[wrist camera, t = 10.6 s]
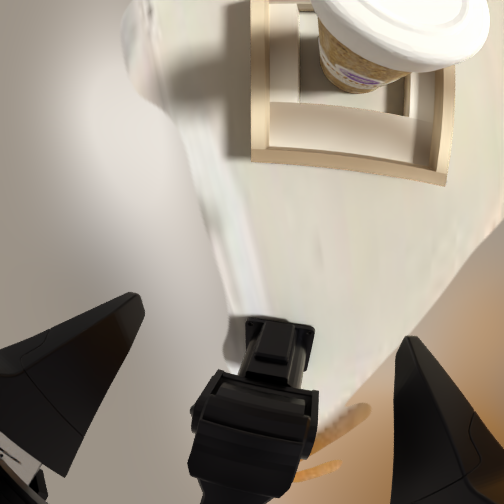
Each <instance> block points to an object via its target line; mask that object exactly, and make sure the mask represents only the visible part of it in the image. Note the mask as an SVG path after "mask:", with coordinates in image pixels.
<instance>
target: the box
mask: <svg viewBox="0 0 504 504" xmlns="http://www.w3.org/2000/svg"><path fill="white" fill-rule="evenodd" d="M299 11H314V9H313V7H312V4H311V1H310V0H250V12H251V162H262V163H279V164H293V165H305V166H315V167H325V168H334V169H343V170H351V171H359V172H366V173H373V174H379V175H386V176H392V177H398V178H403V179H409V180H414V181H419V182H425V183H429V184H434V185H439V186H444V187H445V184H446V179H447V173H448V166H449V160H450V152H451V144H452V135H453V123H454V108H455V65H452V66H449V67H446V68H442V69H438V70H435V71H430V72H423V73H413V72H412V73H410V74H407V75H406V76H404V110H403V116H400V115H395V114H390V113H384V112H378V111H372V110H366V109H359V108H351V107H343V106H333V105H323V104H310V103H300V31H299Z"/></svg>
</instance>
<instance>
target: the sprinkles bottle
mask: <svg viewBox="0 0 504 504" xmlns="http://www.w3.org/2000/svg"><path fill="white" fill-rule="evenodd" d="M310 1H311V4H312V7H313V9H314V11H315V13H316V14H317V16H318V25H319V26H318V27H319V36H318V43H319V51H320V65H321V67H322V70H323V72H324V74H325V76H326V77H327V79H328V80H330V81H331V82H332V83H333V84H334V85H335V86H337V87H338V88H340V89H342V90H344V91H347V92H350V93H357V94H360V93H368V92H371V91H374V90H376V89H377V88H379V87H382V86H384V85H387V84H389V83H392V82H394V81H396V80H398V79H400V78H401V77H404V76H406V75H407V74H410V73H412V72H413V73H423V72H430V71H435V70H438V69H442V68H446V67H449V66H452V65H455V64H458V63H461V62H463V61H465V60H467V59H469V58H471V57H472V56H473V55H475V54H476V53H477V52H478V51H479V50H480V49H481V47H482V46H483V45H484V43H485V41H486V39H487V35H488V32H489V25H490V17H489V9H488V5H487V2H486V0H310Z"/></svg>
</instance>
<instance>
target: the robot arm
mask: <svg viewBox="0 0 504 504" xmlns="http://www.w3.org/2000/svg"><path fill="white" fill-rule="evenodd" d="M144 316H145V310H144V307H143V304H142V300H141V297H140V295H139V294H137V293H133V292H128V293H125V294H124V295H121V296H119V297H117V298H114V299H112V300H110V301H108V302H106V303H104V304H101V305H99V306H97V307H95V308H93V309H91V310H88V311H86V312H84V313H82V314H80V315H78V316H76V317H74V318H72V319H69V320H67V321H65V322H63V323H61V324H59V325H56V326H54V327H52V328H51V329H48V330H46V331H44V332H42V333H40V334H37V335H35V336H33V337H31V338H28V339H26V340H23V341H21V342H18V343H16V344H13V345H11V346H8V347H5V348H3V349H0V504H48V503H47V502H46V501H45V500H46V499H47V497H48V492H47V488H46V484H45V479H44V474H43V470H41V469H40V467H41V465H42V464H44V465H45V466H47V467H48V468H50V469H51V470H53V471H54V472H56V473H57V474H59V475H61V476H62V477H64V478H65V477H66V475H67V473H68V471H69V468H70V467H71V464H72V462H73V460H74V458H75V456H76V453H77V451H78V449H79V447H80V445H81V443H82V441H83V439H84V436H85V434H86V432H87V430H88V428H89V426H90V424H91V422H92V420H93V418H94V416H95V414H96V412H97V410H98V408H99V406H100V404H101V402H102V400H103V398H104V397H105V395H106V393H107V390H108V389H109V387H110V385H111V383H112V382H113V380H114V378H115V376H116V374H117V372H118V370H119V368H120V367H121V365H122V363H123V361H124V360H125V358H126V356H127V354H128V352H129V350H130V348H131V346H132V344H133V341H134V339H135V337H136V335H137V332H138V330H139V328H140V326H141V323H142V321H143V319H144ZM250 322H251V323H250ZM252 323H253V324H252ZM245 327H246V353H245V356H244V359H243V361H242V364H241V367H240V369H239V372H238V375H234V374H230V373H226V372H224V371H223V370H219V369H218V370H217V372H216V373H215V375H214V376H212V378H211V379H210V381H209V382H208V384H207V386H206V387H205V389H204V390H203V392H202V393H201V395H200V396H199V398H198V400H197V401H196V403H195V404H194V405H193V406H192V407H191V409H190V414H191V416H192V424H191V430H192V433H195V438H194V442H193V446H192V450H191V454H190V456H189V459H188V462H187V464H188V469H189V473H190V475H191V476H192V477H195V478H197V479H198V482H199V484H200V487H201V489H202V492H203V496H202V499H201V503H200V504H266V503H267V502H269V501H270V500H271V499H273V498H280V497H281V496H282V495H283V494H284V493H285V492H287V491H288V490H289V488H290V486H291V483H292V482H293V480H294V477H295V474H296V471H297V468H298V465H299V462H300V459H305V460H306V459H307V458H308V457H309V455H310V453H311V450H312V448H313V444H314V441H315V437H316V432H317V426H318V403H319V391H316V390H312V391H310V390H304V389H300V388H301V383H302V377H303V372H305V371H306V370H307V367H308V362H309V358H310V353H311V349H312V344H313V339H314V334H315V329H314V328H313V327H310V326H303V325H295V324H288V323H282V322H275V321H269V320H262V319H256V318H248V319H247V320H246V323H245ZM308 331H310V332H308ZM393 403H394V459H393V478H392V490H391V501H390V504H504V449H503V447H502V446H501V445H500V444H499V442H498V441H497V440H496V439H495V438H494V436H493V435H492V434H491V432H490V431H489V430H488V429H487V427H486V426H485V424H484V423H483V422H482V420H481V419H480V417H479V416H478V414H477V413H476V412H475V411H474V409H473V407H472V406H471V405H470V403H469V402H468V400H467V399H466V398H465V397H464V395H463V394H462V392H461V391H460V390H459V388H458V387H457V386H456V384H455V383H454V382H453V380H452V379H451V378H450V376H449V375H448V374H447V373H446V371H445V370H444V369H443V367H442V366H441V365H440V364H439V362H438V361H437V360H436V358H435V357H434V356H433V355H432V353H431V352H430V351H429V350H428V349H427V347H426V346H425V345H424V344H423V343H422V341H421V340H420V339H419V338H418V337H417V336H405V337H404V339H403V341H402V343H401V345H400V347H399V349H398V351H397V353H396V359H395V381H394V399H393Z"/></svg>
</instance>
